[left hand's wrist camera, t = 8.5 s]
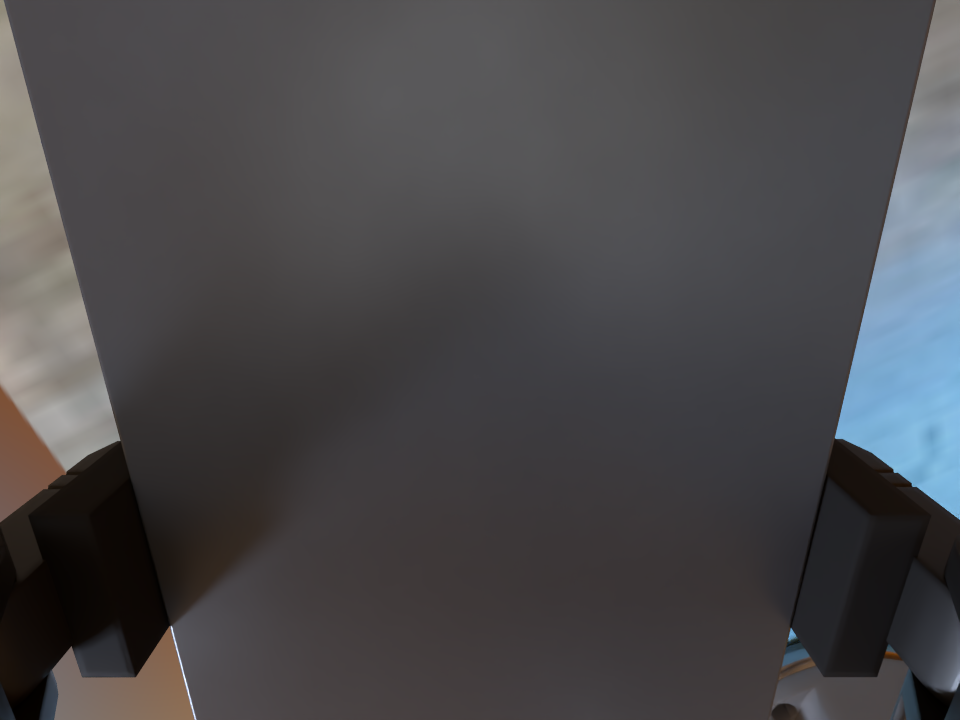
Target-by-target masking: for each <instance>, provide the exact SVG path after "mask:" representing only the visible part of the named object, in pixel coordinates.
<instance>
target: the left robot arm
mask: <svg viewBox="0 0 960 720" xmlns="http://www.w3.org/2000/svg"><path fill="white" fill-rule="evenodd" d="M169 626H170V625H169V621H168V618H167V614H166V610H165V606H164V602H163V599H162V595H161V591H160V587H159V584H158V580H157V576H156V572H155V568H154V565H153V561H152V557H151V553H150V550H149V546H148V542H147V538H146V534H145V531H144V527H143V523H142V519H141V516H140V512H139V508H138V504H137V501H136V497H135V493H134V489H133V485H132V482H131V478H130V474H129V470H128V467H127V463H126V459H125V455H124V451H123V448H122V444H121V441H117V442H115V443H113V444H111V445H108V446H106V447H104V448H102V449H100V450H98V451H96V452H94V453H92V454H90V455H88V456H86V457H85V458H84V459H83V460H81V461H80V462H79V463H77V464H76V465H75V466H73V467H72V468H71V469H69V470H68V471H67V474H66V475H62V476H60V477H59V478H58V479H56V480H55V481H54V482H53V483H51V484H50V485H49V486H48V489H43V490H42V491H41V492H40V493H38V494H37V495H36V496H34V497H33V498H32V499H30V500H29V501H28V502H26V503H25V504H24V505H23V506H21V507H20V508H19V509H17V510H16V511H15V512H13V513H12V514H11V515H9V516H8V517H7V518H6V519H4V520H3V521H2V522H0V720H54V716H55V711H56V705H57V699H58V689H57V683H56V680H55V677H54V674H53V672H52V669H53V668H54V666H55V665H56V664H57V663H58V662H59V660H60V659H61V658H62V657H63V655H64V654H65V653H66V652H67V651H68V650H69V648H70V647H71V646H72V649H73V651H74V654H75V657H76V660H77V663H78V666H79V669H80V672H81V675H82V677H136V676H137V674H138V673H139V671H140V670H141V668H142V667H143V665H144V664H145V662H146V661H147V659H148V658H149V656H150V655H151V653H152V652H153V650H154V649H155V647H156V646H157V644H158V643H159V641H160V640H161V638H162V637H163V635H164V633H165V632H166V630H167V629H168V627H169ZM791 628H792V630H793V631H794V633H795V634H796V636H797V637H798V639H799V640H800V643H797V644H794V645H791V646H788V647H786V650H785V655H784V659H783V663H782V667H781V672H780V676H779V680H778V685H777V689H776V693H775V698H774V702H773V706H772V711H771V715H770V719H769V720H960V520H959V519H958V518H956V517H955V516H954V515H953V514H951V513H950V512H949V511H947V510H946V509H945V508H943V507H942V506H941V505H939V504H938V503H937V502H935V501H934V500H933V499H931V498H930V497H929V496H928V495H926V494H925V493H924V492H922V491H921V490H920V489H918V488H917V487H912V483H910V482H909V481H908V480H906V479H905V478H904V477H903V476H901V475H900V474H899V473H894V472H893V469H892V468H891V467H889V466H888V465H887V464H885V463H884V462H883V461H882V460H880V459H879V458H878V457H876V456H875V455H874V454H872V453H871V452H868V451H866V450H864V449H862V448H860V447H858V446H856V445H854V444H852V443H849V442H847V441H845V440H843V439H834V443H833V447H832V452H831V456H830V460H829V464H828V469H827V473H826V477H825V482H824V486H823V490H822V495H821V499H820V503H819V508H818V512H817V516H816V521H815V525H814V529H813V534H812V538H811V542H810V547H809V551H808V555H807V559H806V564H805V568H804V572H803V577H802V581H801V585H800V590H799V594H798V598H797V603H796V607H795V611H794V616H793V620H792V624H791Z"/></svg>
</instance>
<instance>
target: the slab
mask: <svg viewBox="0 0 960 720" xmlns="http://www.w3.org/2000/svg"><path fill="white" fill-rule="evenodd" d="M4 2H5V6H6V10H7V14H8V18H9V21H10V25H11V29H12V33H13V36H14V40H15V44H16V48H17V52H18V55H19V59H20V63H21V67H22V70H23V74H24V78H25V82H26V85H27V89H28V93H29V97H30V101H31V104H32V108H33V112H34V116H35V119H36V123H37V127H38V131H39V135H40V138H41V142H42V146H43V150H44V153H45V157H46V161H47V165H48V168H49V172H50V176H51V180H52V184H53V187H54V191H55V195H56V199H57V202H58V206H59V210H60V214H61V218H62V221H63V225H64V229H65V233H66V236H67V240H68V244H69V248H70V252H71V255H72V259H73V263H74V267H75V270H76V274H77V278H78V282H79V285H80V289H81V293H82V297H83V301H84V304H85V308H86V312H87V316H88V319H89V323H90V327H91V331H92V335H93V338H94V342H95V346H96V350H97V353H98V357H99V361H100V365H101V368H102V372H103V376H104V380H105V384H106V387H107V391H108V395H109V399H110V402H111V406H112V410H113V414H114V418H115V421H116V425H117V429H118V433H119V436H120V440H121V444H122V448H123V451H124V455H125V459H126V463H127V467H128V470H129V474H130V478H131V482H132V485H133V489H134V493H135V497H136V501H137V504H138V508H139V512H140V516H141V519H142V523H143V527H144V531H145V534H146V538H147V542H148V546H149V550H150V553H151V557H152V561H153V565H154V568H155V572H156V576H157V580H158V584H159V587H160V591H161V595H162V599H163V602H164V606H165V610H166V614H167V618H168V621H169V625H170V629H171V633H172V636H173V640H174V644H175V648H176V651H177V655H178V659H179V663H180V666H181V670H182V674H183V678H184V682H185V685H186V689H187V693H188V697H189V701H190V704H191V708H192V712H193V716H194V719H195V720H769V719H770V715H771V711H772V706H773V702H774V698H775V693H776V689H777V685H778V680H779V676H780V672H781V667H782V663H783V659H784V655H785V650H786V646H787V642H788V637H789V633H790V629H791V624H792V620H793V616H794V611H795V607H796V603H797V598H798V594H799V590H800V585H801V581H802V577H803V572H804V568H805V564H806V559H807V555H808V551H809V547H810V542H811V538H812V534H813V529H814V525H815V521H816V516H817V512H818V508H819V503H820V499H821V495H822V490H823V486H824V482H825V477H826V473H827V469H828V464H829V460H830V456H831V452H832V447H833V443H834V439H835V434H836V430H837V426H838V421H839V417H840V413H841V408H842V404H843V400H844V395H845V391H846V387H847V382H848V378H849V374H850V369H851V365H852V361H853V356H854V352H855V348H856V344H857V339H858V335H859V331H860V326H861V322H862V318H863V313H864V309H865V305H866V300H867V296H868V292H869V287H870V283H871V279H872V274H873V270H874V266H875V261H876V257H877V253H878V248H879V244H880V240H881V236H882V231H883V227H884V223H885V218H886V214H887V210H888V205H889V201H890V197H891V192H892V188H893V184H894V179H895V175H896V171H897V166H898V162H899V158H900V153H901V149H902V145H903V140H904V136H905V132H906V128H907V123H908V119H909V115H910V110H911V106H912V102H913V97H914V93H915V89H916V84H917V80H918V76H919V71H920V67H921V63H922V58H923V54H924V50H925V45H926V41H927V37H928V32H929V28H930V24H931V20H932V15H933V11H934V7H935V2H936V0H4Z"/></svg>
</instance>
